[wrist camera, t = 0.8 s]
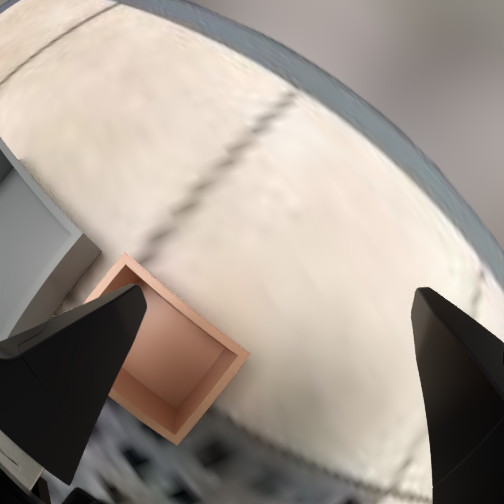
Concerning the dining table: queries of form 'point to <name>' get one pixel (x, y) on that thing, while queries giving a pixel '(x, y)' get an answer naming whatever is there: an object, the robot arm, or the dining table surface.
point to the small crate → (169, 357)
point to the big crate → (34, 250)
